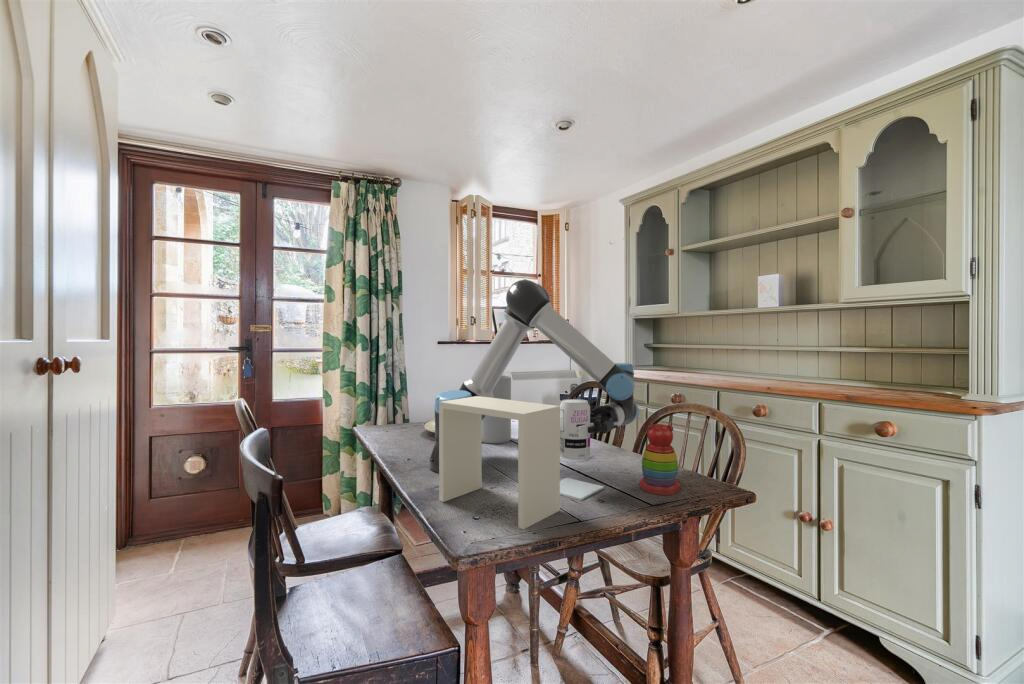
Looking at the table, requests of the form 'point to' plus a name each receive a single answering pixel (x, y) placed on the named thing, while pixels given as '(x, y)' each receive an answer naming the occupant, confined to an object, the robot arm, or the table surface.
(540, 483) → the tunnel
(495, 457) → the table surface
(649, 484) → the stacking bear
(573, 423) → the supplement can
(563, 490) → the tile
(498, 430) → the cylinder vase
